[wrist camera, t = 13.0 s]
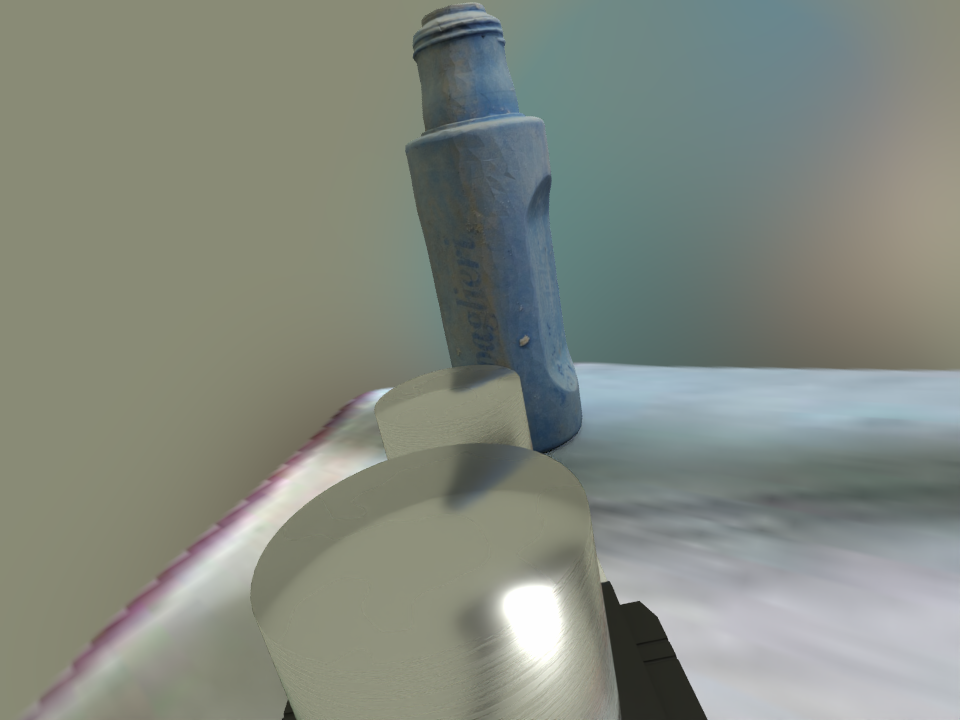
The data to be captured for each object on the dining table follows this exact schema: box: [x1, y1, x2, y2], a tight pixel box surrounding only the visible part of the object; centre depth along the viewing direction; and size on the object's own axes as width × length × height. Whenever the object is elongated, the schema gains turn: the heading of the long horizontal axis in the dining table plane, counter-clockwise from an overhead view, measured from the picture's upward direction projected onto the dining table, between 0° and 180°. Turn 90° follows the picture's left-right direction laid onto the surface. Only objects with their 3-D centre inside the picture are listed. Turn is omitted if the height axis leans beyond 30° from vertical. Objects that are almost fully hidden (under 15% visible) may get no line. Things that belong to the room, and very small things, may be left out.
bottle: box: [405, 3, 582, 453], centre depth 39 cm, size 10×10×30 cm
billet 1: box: [374, 365, 533, 460], centre depth 20 cm, size 5×5×12 cm
